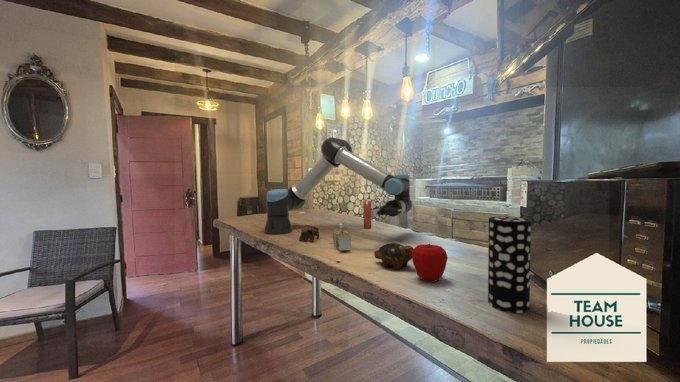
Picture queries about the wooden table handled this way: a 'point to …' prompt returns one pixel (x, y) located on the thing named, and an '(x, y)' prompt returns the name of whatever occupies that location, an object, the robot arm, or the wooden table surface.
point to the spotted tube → (509, 264)
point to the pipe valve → (341, 240)
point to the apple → (429, 261)
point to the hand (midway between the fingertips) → (372, 213)
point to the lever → (366, 218)
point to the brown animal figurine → (309, 233)
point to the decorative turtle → (394, 255)
